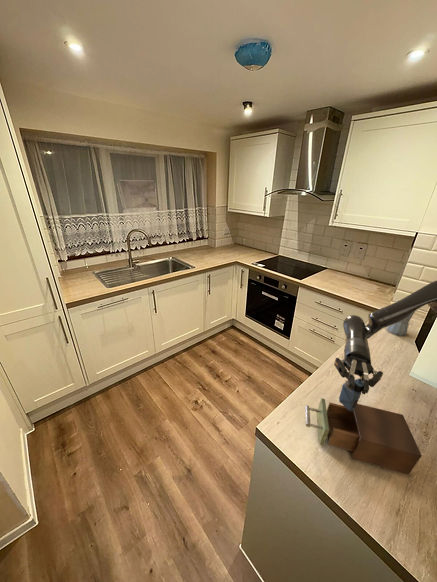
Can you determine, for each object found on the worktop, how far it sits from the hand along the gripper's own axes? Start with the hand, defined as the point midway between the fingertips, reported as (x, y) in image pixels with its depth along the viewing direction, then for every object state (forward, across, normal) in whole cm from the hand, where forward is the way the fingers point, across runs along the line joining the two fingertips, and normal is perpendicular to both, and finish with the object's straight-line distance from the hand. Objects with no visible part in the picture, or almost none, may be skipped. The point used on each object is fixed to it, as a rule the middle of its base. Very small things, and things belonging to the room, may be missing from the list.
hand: (358, 389), depth 65 cm
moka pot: (-82, +27, +22) cm, 89 cm away
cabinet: (-3, +10, +22) cm, 24 cm away
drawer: (0, -2, +21) cm, 21 cm away
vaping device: (-3, -1, +10) cm, 10 cm away
